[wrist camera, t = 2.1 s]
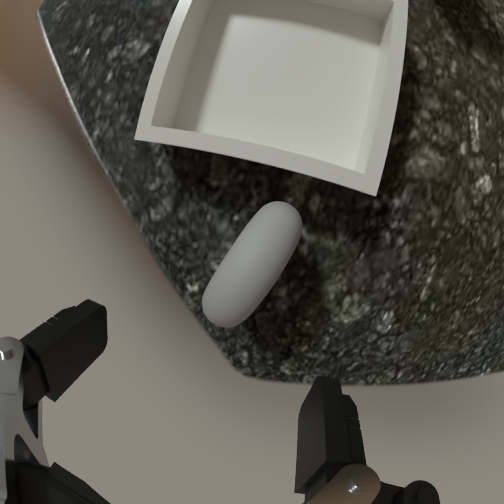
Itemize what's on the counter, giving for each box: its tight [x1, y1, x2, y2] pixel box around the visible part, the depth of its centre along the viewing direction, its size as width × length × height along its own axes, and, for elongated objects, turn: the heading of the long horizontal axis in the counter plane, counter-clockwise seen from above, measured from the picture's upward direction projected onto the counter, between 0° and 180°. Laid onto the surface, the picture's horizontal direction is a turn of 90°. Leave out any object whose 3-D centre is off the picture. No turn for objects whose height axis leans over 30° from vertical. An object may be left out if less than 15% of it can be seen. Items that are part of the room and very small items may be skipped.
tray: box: [135, 0, 408, 196], centre depth 18 cm, size 18×18×5 cm
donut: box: [202, 201, 303, 328], centre depth 20 cm, size 10×4×10 cm, turn 148°
